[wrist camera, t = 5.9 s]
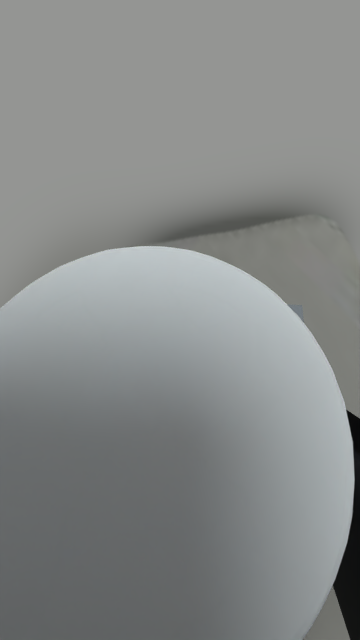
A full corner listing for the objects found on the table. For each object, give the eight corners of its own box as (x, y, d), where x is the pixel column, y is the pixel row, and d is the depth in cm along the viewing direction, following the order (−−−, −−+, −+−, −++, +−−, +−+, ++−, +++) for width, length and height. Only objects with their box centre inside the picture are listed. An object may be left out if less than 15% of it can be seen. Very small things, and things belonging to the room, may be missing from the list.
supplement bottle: (96, 429, 15) (-262, 397, 3) (185, 348, 17) (155, 127, 5) (180, 542, 13) (2, 1604, 1) (273, 437, 14) (611, 434, 3)
